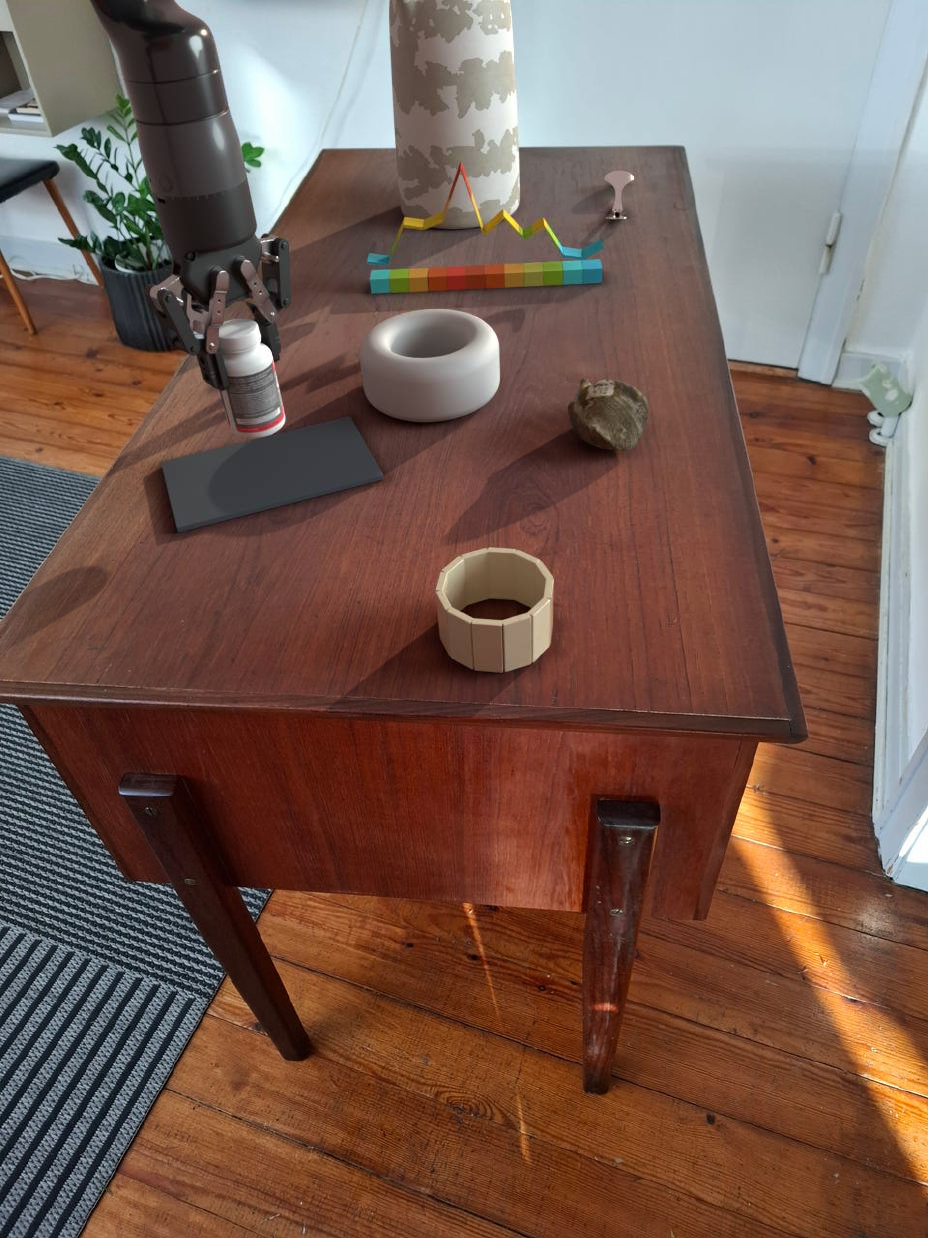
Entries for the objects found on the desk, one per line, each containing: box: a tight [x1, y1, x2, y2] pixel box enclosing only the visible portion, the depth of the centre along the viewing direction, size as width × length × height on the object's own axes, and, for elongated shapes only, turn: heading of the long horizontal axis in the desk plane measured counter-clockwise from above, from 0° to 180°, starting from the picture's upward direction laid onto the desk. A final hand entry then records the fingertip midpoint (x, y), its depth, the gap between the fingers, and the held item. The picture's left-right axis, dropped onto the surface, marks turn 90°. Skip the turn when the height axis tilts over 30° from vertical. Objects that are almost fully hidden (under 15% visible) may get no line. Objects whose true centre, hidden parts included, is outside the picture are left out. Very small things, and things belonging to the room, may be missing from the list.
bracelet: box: [434, 547, 555, 674], centre depth 69 cm, size 9×9×5 cm
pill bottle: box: [218, 318, 286, 439], centre depth 82 cm, size 5×5×10 cm
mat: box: [160, 416, 384, 533], centre depth 89 cm, size 20×12×1 cm, turn 111°
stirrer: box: [603, 170, 635, 220], centre depth 135 cm, size 20×4×5 cm
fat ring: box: [358, 308, 501, 423], centre depth 97 cm, size 15×15×7 cm
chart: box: [367, 161, 604, 295], centre depth 114 cm, size 30×3×15 cm, turn 90°
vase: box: [388, 0, 521, 230], centre depth 126 cm, size 20×19×38 cm
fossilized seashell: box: [567, 377, 650, 452], centre depth 89 cm, size 8×7×10 cm
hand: (245, 372), depth 81 cm, fingers closed on pill bottle, 5 cm apart
